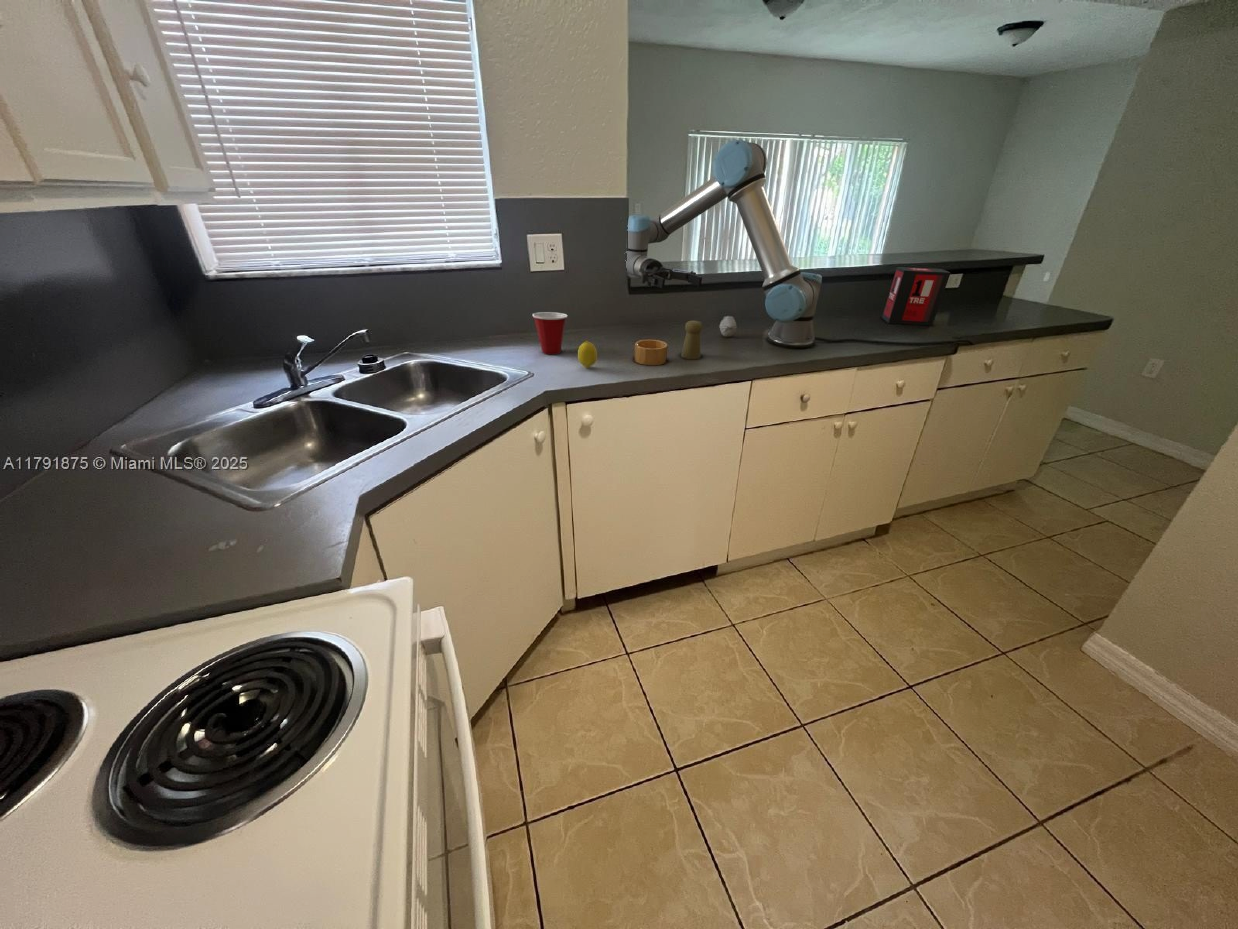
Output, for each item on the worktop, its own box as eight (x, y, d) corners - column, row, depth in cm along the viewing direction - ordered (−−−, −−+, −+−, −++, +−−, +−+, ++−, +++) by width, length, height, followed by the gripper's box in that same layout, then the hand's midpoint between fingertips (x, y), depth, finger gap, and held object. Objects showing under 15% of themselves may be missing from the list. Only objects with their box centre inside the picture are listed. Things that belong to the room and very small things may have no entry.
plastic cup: (574, 348, 159) (573, 311, 153) (560, 358, 150) (558, 319, 144) (544, 344, 162) (542, 308, 155) (528, 354, 153) (525, 315, 147)
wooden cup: (667, 356, 154) (669, 340, 151) (664, 366, 146) (665, 350, 143) (637, 353, 155) (638, 338, 153) (632, 363, 147) (632, 347, 145)
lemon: (582, 372, 140) (582, 345, 136) (575, 366, 144) (574, 339, 140) (600, 369, 142) (600, 342, 138) (592, 363, 146) (591, 337, 142)
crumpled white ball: (732, 333, 178) (735, 314, 174) (737, 339, 172) (740, 319, 168) (716, 333, 178) (718, 314, 174) (720, 339, 172) (723, 319, 168)
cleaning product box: (924, 320, 201) (941, 268, 191) (932, 325, 194) (950, 272, 183) (881, 317, 203) (896, 266, 193) (888, 323, 196) (904, 270, 186)
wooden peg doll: (699, 353, 157) (703, 319, 151) (700, 359, 152) (704, 324, 146) (681, 352, 157) (684, 318, 152) (681, 358, 152) (684, 323, 147)
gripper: (678, 279, 174) (713, 293, 158) (616, 282, 164) (646, 297, 148) (681, 257, 170) (716, 268, 154) (617, 258, 160) (648, 271, 144)
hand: (682, 282), depth 151 cm, fingers open, 13 cm apart
